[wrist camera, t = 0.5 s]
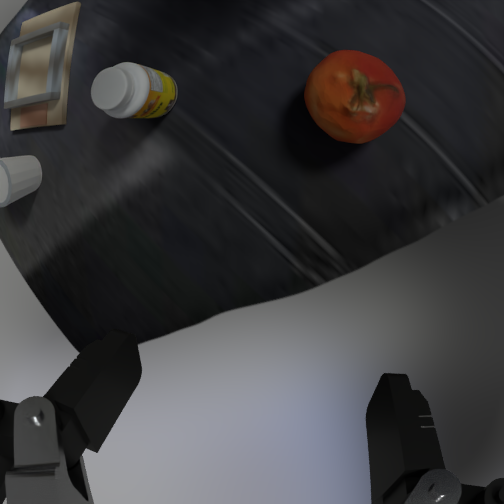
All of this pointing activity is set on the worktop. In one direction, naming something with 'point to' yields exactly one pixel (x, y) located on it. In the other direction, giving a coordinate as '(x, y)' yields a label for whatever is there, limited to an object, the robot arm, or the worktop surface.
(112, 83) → the supplement bottle
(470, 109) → the worktop surface
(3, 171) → the shot glass
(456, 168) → the worktop surface
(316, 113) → the tomato
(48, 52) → the holder
